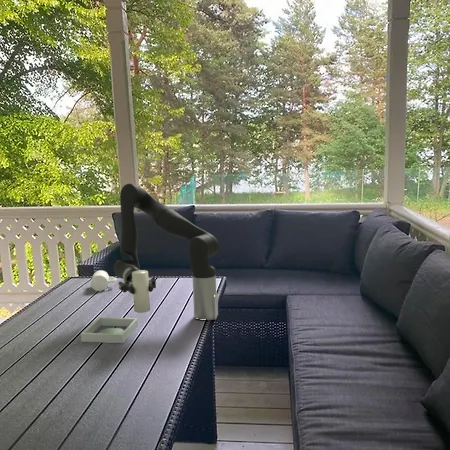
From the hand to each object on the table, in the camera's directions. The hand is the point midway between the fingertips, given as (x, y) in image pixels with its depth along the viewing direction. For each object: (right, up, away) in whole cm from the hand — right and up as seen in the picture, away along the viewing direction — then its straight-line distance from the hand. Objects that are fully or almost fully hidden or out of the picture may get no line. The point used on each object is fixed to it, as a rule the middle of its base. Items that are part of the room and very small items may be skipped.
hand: (142, 290), depth 156 cm
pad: (-13, -17, +8) cm, 23 cm away
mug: (-31, -9, +65) cm, 73 cm away
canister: (-1, -8, +4) cm, 8 cm away
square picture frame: (-13, -17, +8) cm, 23 cm away
